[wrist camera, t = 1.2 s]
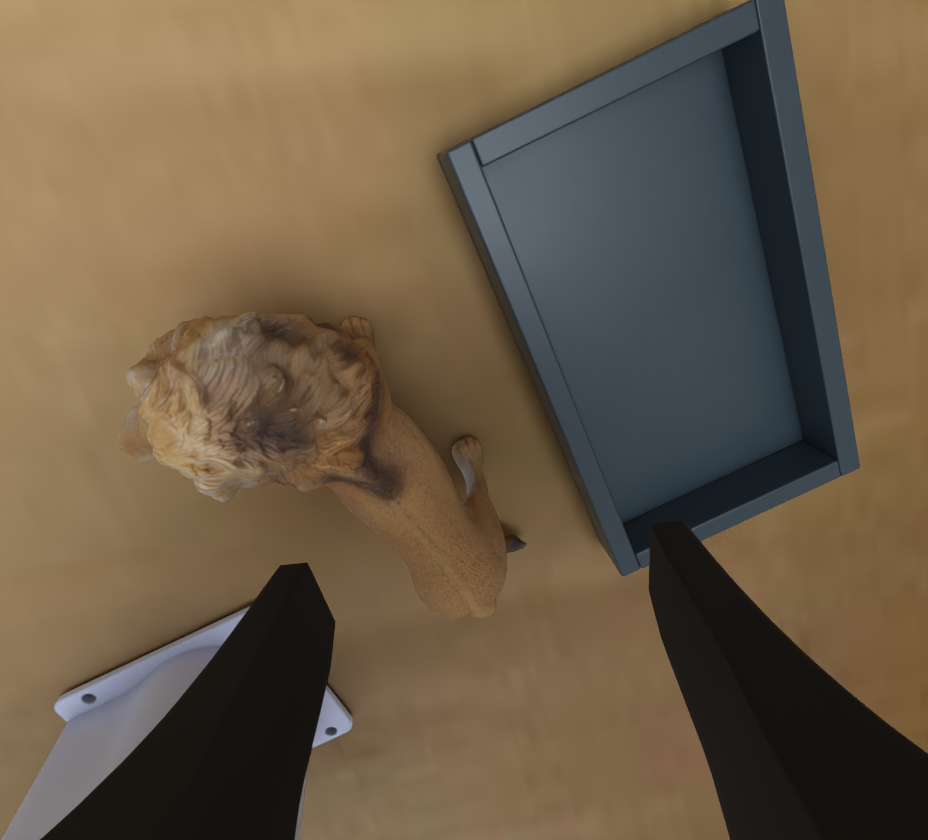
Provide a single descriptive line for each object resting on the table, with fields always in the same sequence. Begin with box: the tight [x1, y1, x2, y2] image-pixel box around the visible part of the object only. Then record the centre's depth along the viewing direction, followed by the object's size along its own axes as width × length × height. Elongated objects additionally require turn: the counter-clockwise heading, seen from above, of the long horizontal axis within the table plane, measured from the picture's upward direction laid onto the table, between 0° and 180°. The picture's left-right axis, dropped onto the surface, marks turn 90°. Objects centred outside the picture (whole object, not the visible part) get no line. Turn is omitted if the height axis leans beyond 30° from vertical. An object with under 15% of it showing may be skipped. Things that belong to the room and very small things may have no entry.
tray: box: [437, 0, 860, 576], centre depth 20 cm, size 10×17×2 cm, turn 24°
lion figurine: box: [118, 312, 527, 619], centre depth 17 cm, size 15×5×9 cm, turn 45°
